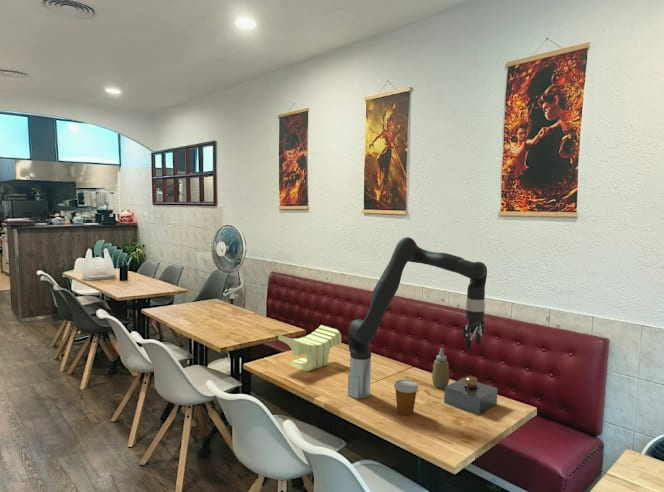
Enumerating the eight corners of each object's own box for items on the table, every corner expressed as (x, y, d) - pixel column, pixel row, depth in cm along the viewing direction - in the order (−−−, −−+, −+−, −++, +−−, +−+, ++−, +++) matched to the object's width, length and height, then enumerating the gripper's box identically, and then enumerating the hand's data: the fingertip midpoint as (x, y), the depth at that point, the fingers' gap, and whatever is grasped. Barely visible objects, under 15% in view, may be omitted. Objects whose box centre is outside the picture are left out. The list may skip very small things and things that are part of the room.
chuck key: (472, 406, 183) (473, 381, 182) (462, 403, 187) (463, 378, 186) (478, 403, 187) (479, 378, 186) (467, 400, 190) (468, 375, 189)
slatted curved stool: (297, 376, 212) (298, 341, 211) (277, 368, 224) (278, 334, 222) (340, 363, 233) (341, 330, 232) (320, 356, 245) (321, 325, 243)
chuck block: (479, 415, 175) (480, 398, 175) (444, 402, 187) (444, 386, 186) (496, 404, 187) (497, 388, 186) (462, 392, 198) (463, 377, 197)
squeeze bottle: (452, 386, 205) (453, 349, 204) (443, 391, 199) (445, 352, 198) (436, 381, 211) (438, 345, 209) (428, 386, 205) (429, 348, 204)
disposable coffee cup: (411, 419, 170) (413, 389, 169) (389, 413, 175) (390, 384, 175) (420, 410, 178) (421, 382, 178) (399, 404, 183) (400, 377, 183)
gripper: (475, 312, 176) (473, 352, 177) (491, 308, 186) (489, 345, 187) (458, 309, 181) (456, 347, 183) (474, 305, 191) (473, 341, 193)
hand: (473, 346), depth 185 cm, fingers open, 8 cm apart
